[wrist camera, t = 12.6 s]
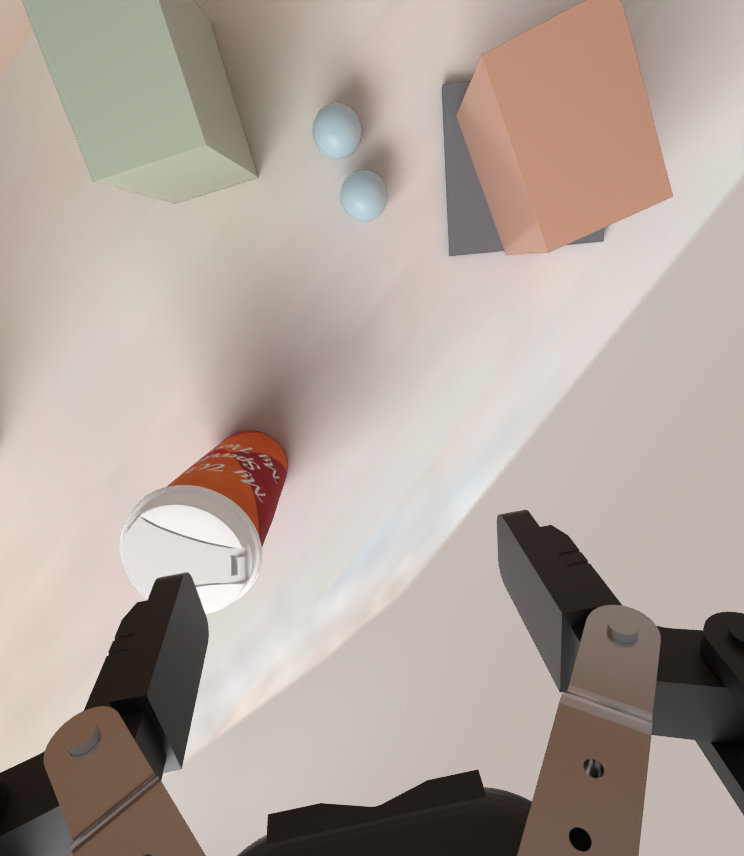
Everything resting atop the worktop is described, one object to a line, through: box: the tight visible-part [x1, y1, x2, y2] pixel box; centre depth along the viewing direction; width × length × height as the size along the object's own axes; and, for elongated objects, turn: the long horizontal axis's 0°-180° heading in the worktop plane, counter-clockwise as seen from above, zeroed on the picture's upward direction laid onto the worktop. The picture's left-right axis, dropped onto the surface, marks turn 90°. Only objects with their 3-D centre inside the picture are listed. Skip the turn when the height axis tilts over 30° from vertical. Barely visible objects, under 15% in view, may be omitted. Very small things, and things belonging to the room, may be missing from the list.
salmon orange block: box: [456, 0, 673, 255], centre depth 28 cm, size 9×6×10 cm, turn 24°
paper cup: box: [120, 431, 288, 614], centre depth 34 cm, size 8×8×14 cm
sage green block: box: [22, 0, 258, 204], centre depth 29 cm, size 9×6×10 cm, turn 15°
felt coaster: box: [442, 81, 604, 256], centre depth 33 cm, size 10×10×1 cm
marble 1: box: [313, 103, 361, 159], centre depth 32 cm, size 3×3×3 cm
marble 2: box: [340, 170, 388, 222], centre depth 33 cm, size 3×3×3 cm
